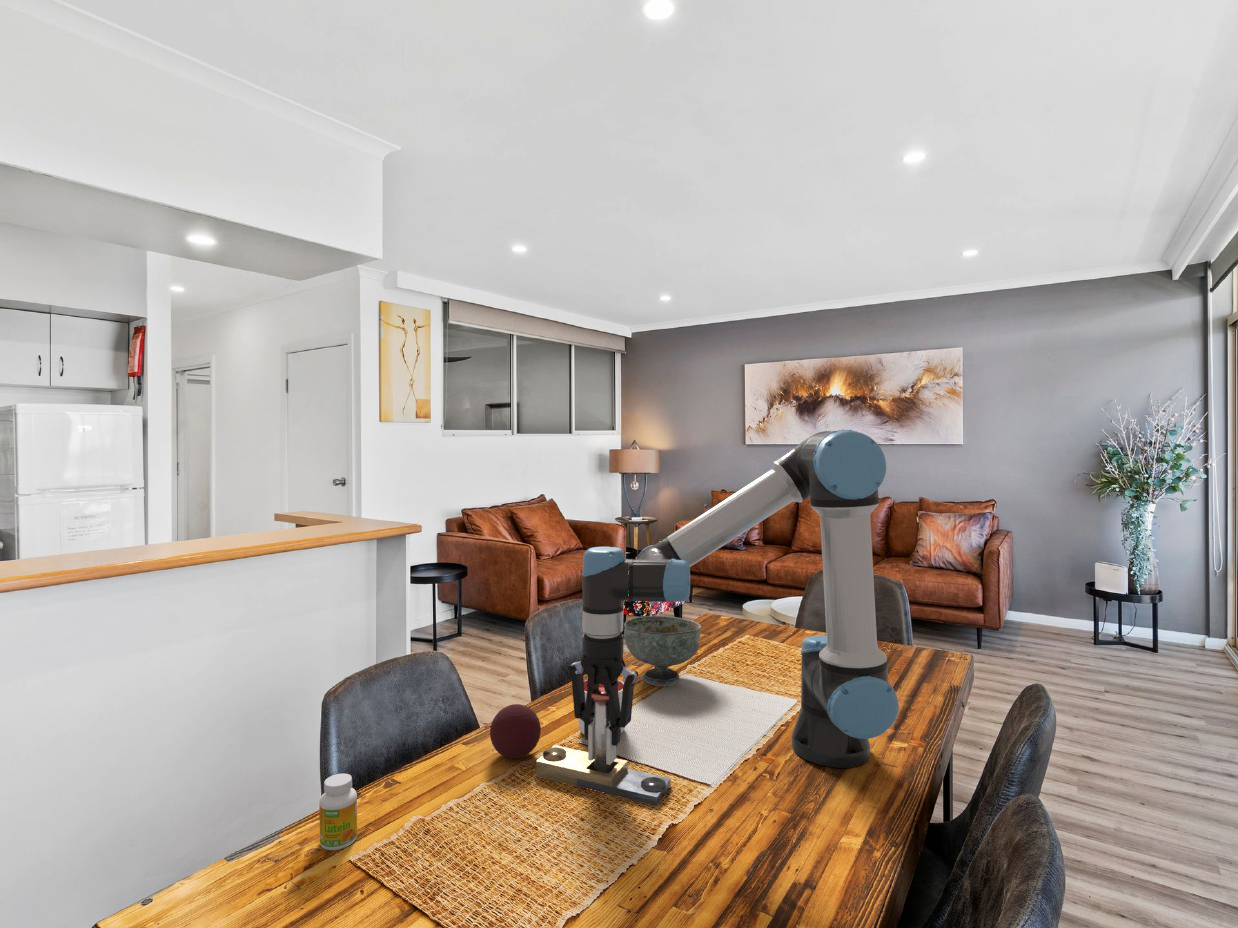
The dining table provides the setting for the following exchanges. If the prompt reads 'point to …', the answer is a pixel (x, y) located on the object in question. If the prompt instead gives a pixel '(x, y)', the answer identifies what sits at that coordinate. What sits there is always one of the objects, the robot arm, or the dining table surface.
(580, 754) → the chain ends
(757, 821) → the dining table surface
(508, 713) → the decorative ball
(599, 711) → the pin
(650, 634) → the bowl
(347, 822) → the supplement bottle
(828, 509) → the robot arm
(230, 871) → the dining table surface
